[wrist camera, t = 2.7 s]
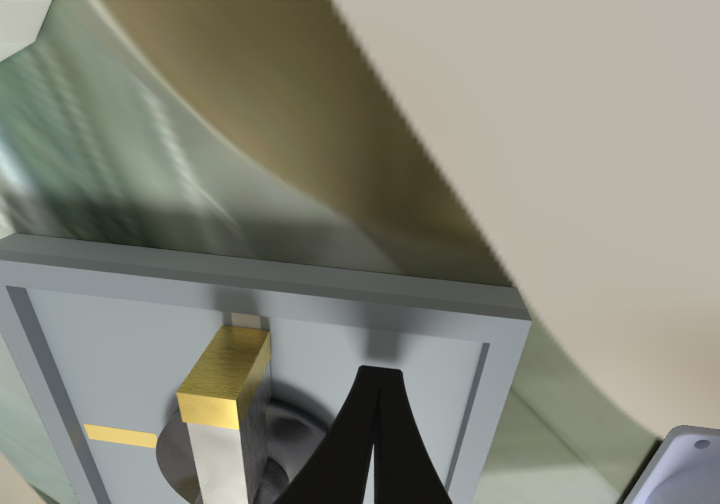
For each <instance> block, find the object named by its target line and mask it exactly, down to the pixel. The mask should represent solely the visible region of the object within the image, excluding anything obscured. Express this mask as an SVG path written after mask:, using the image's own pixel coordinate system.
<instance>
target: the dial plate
mask: <svg viewBox="0 0 720 504" xmlns="http://www.w3.org/2000/svg"><path fill="white" fill-rule="evenodd" d="M531 324H532V319H531V317H530V315H529V313H528V311H527V308H526V306H525V304H524V302H523V300H522V298H521V296H520V293H519V291H518V289H517V288H512V287H502V286H493V285H484V284H475V283H466V282H457V281H448V280H439V279H430V278H420V277H411V276H402V275H393V274H384V273H375V272H366V271H357V270H347V269H338V268H329V267H320V266H311V265H302V264H293V263H284V262H275V261H265V260H256V259H247V258H238V257H229V256H220V255H211V254H202V253H192V252H183V251H174V250H165V249H156V248H147V247H138V246H129V245H120V244H110V243H101V242H92V241H83V240H74V239H65V238H56V237H47V236H37V235H28V234H19V233H13V234H11V235H9V236H7V237H5V238H3V239H1V240H0V332H1V335H2V337H3V339H4V341H5V343H6V345H7V348H8V350H9V352H10V354H11V356H12V358H13V361H14V363H15V365H16V367H17V369H18V371H19V373H20V376H21V378H22V380H23V382H24V384H25V386H26V389H27V391H28V393H29V395H30V397H31V399H32V402H33V404H34V406H35V408H36V410H37V412H38V415H39V417H40V419H41V421H42V423H43V425H44V428H45V430H46V432H47V434H48V436H49V438H50V440H51V443H52V445H53V447H54V449H55V451H56V453H57V456H58V458H59V460H60V462H61V464H62V466H63V469H64V471H65V473H66V475H67V477H68V479H69V482H70V484H71V486H72V488H73V490H74V492H75V495H76V497H77V499H78V501H79V503H80V504H190V503H189V502H188V501H186V500H185V499H184V498H182V497H181V496H180V495H179V494H178V493H177V492H176V491H175V490H174V489H173V488H172V487H171V486H170V485H169V483H168V482H167V481H166V479H165V478H164V476H163V474H162V473H161V471H160V468H159V466H158V463H157V458H156V444H157V440H158V437H159V435H160V433H161V431H162V430H163V428H164V427H165V425H166V424H167V422H168V420H169V419H170V417H171V416H172V415H173V414H174V412H175V411H176V410H177V409H178V408H179V403H178V398H177V394H176V392H177V391H178V389H179V388H180V386H181V385H182V383H183V382H184V380H185V379H186V377H187V376H188V374H189V373H190V371H191V370H192V368H193V367H194V365H195V364H196V362H197V361H198V359H199V358H200V356H201V355H202V354H203V352H204V351H205V349H206V348H207V346H208V345H209V343H210V342H211V340H212V339H213V337H214V336H215V334H216V333H217V331H218V330H219V328H220V327H221V325H224V326H233V327H241V328H249V329H257V330H266V331H270V345H271V359H270V369H271V386H272V398H276V399H279V400H282V401H284V402H287V403H290V404H292V405H294V406H296V407H298V408H300V409H302V410H304V411H306V412H307V413H309V414H311V415H312V416H314V417H315V418H317V419H318V420H319V421H321V422H322V423H323V424H324V425H325V426H326V427H327V428H330V427H331V425H332V423H333V422H334V420H335V418H336V417H337V415H338V413H339V411H340V409H341V407H342V406H343V404H344V402H345V400H346V398H347V396H348V394H349V392H350V389H351V387H352V385H353V382H354V380H355V377H356V374H357V371H358V367H360V366H361V365H367V366H376V367H384V368H393V369H400V370H401V371H402V372H403V378H404V384H405V388H406V393H407V396H408V400H409V403H410V407H411V410H412V413H413V416H414V419H415V422H416V424H417V427H418V430H419V433H420V435H421V438H422V440H423V443H424V445H425V448H426V450H427V452H428V455H429V457H430V459H431V461H432V463H433V466H434V468H435V470H436V472H437V474H438V476H439V478H440V480H441V482H442V484H443V486H444V488H445V490H446V492H447V493H448V495H449V497H450V499H451V501H452V503H453V504H471V502H472V499H473V496H474V493H475V490H476V487H477V484H478V481H479V478H480V475H481V472H482V470H483V467H484V464H485V461H486V458H487V455H488V452H489V449H490V446H491V443H492V440H493V437H494V434H495V431H496V428H497V425H498V422H499V419H500V416H501V413H502V410H503V407H504V404H505V401H506V398H507V395H508V392H509V389H510V386H511V383H512V380H513V377H514V374H515V371H516V368H517V365H518V362H519V359H520V356H521V353H522V350H523V347H524V344H525V341H526V338H527V335H528V332H529V330H530V327H531ZM363 504H374V445H373V450H372V456H371V462H370V467H369V473H368V479H367V484H366V490H365V496H364V501H363Z"/></svg>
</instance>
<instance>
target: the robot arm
mask: <svg viewBox="0 0 720 504" xmlns="http://www.w3.org/2000/svg"><path fill="white" fill-rule="evenodd" d="M373 445H374V504H453V503H452V501H451V499H450V497H449V495H448V493H447V492H446V490H445V488H444V486H443V484H442V482H441V480H440V478H439V476H438V474H437V472H436V470H435V468H434V466H433V463H432V461H431V459H430V457H429V455H428V452H427V450H426V448H425V445H424V443H423V440H422V438H421V435H420V433H419V430H418V427H417V424H416V422H415V419H414V416H413V413H412V410H411V407H410V403H409V400H408V396H407V393H406V388H405V384H404V378H403V372H402V371H401V370H400V369H393V368H384V367H376V366H367V365H361V366H360V367H358V371H357V374H356V377H355V380H354V382H353V385H352V387H351V389H350V392H349V394H348V396H347V398H346V400H345V402H344V404H343V406H342V407H341V409H340V411H339V413H338V415H337V417H336V418H335V420H334V422H333V423H332V425H331V427H330V428H329V430H328V431H327V433H326V435H325V436H324V438H323V439H322V441H321V442H320V444H319V445H318V447H317V448H316V450H315V451H314V453H313V454H312V455H311V457H310V458H309V460H308V461H307V462H306V464H305V465H304V466H303V468H302V469H301V470H300V471H299V473H298V474H297V475H296V476H295V478H294V479H293V480H292V481H291V483H290V484H289V485H288V486H287V488H286V489H285V490H284V491H283V492H282V493H281V495H280V496H279V497H278V498H277V499H276V500H275V501H274V502H273V503H272V504H363V501H364V496H365V490H366V484H367V479H368V473H369V467H370V462H371V456H372V450H373ZM623 504H720V430H719V429H711V428H703V427H695V426H688V425H687V426H686V425H681V426H677V427H675V428H673V429H672V430H671V431H670V432H669V433H668V435H667V436H666V438H665V439H664V441H663V442H662V444H661V446H660V447H659V449H658V450H657V452H656V453H655V455H654V456H653V458H652V459H651V461H650V463H649V464H648V466H647V467H646V469H645V470H644V472H643V473H642V475H641V477H640V478H639V480H638V481H637V483H636V484H635V486H634V487H633V489H632V490H631V492H630V494H629V495H628V497H627V498H626V500H625V501H624V503H623Z"/></svg>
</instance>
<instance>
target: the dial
mask: <svg viewBox="0 0 720 504" xmlns="http://www.w3.org/2000/svg"><path fill="white" fill-rule="evenodd" d="M270 359H271V345H270V331H266V330H257V329H249V328H241V327H233V326H224V325H221V327H220V328H219V330H218V331H217V333H216V334H215V336H214V337H213V339H212V340H211V342H210V343H209V345H208V346H207V348H206V349H205V351H204V352H203V354H202V355H201V356H200V358H199V359H198V361H197V362H196V364H195V365H194V367H193V368H192V370H191V371H190V373H189V374H188V376H187V377H186V379H185V380H184V382H183V383H182V385H181V386H180V388H179V389H178V391H177V392H176V394H177V398H178V403H179V408H178V409H177V410H176V411H175V412H174V414H173V415H172V416H171V417H170V419H169V420H168V422H167V424H166V425H165V427H164V428H163V430H162V431H161V433H160V435H159V437H158V440H157V444H156V458H157V463H158V466H159V468H160V471H161V473H162V474H163V476H164V478H165V479H166V481H167V482H168V483H169V485H170V486H171V487H172V488H173V489H174V490H175V491H176V492H177V493H178V494H179V495H180V496H181V497H182V498H184V499H185V500H186V501H188V502H189V503H190V504H272V503H273V502H274V501H275V500H276V499H277V498H278V497H279V496H280V495H281V493H282V492H283V491H284V490H285V489H286V488H287V486H288V485H289V484H290V483H291V481H292V480H293V479H294V478H295V476H296V475H297V474H298V473H299V471H300V470H301V469H302V468H303V466H304V465H305V464H306V462H307V461H308V460H309V458H310V457H311V455H312V454H313V453H314V451H315V450H316V448H317V447H318V445H319V444H320V442H321V441H322V439H323V438H324V436H325V435H326V433H327V431H328V430H329V428H327V427H326V426H325V425H324V424H323V423H322V422H321V421H319V420H318V419H317V418H315V417H314V416H312V415H311V414H309V413H307V412H306V411H304V410H302V409H300V408H298V407H296V406H294V405H292V404H290V403H287V402H284V401H282V400H279V399H276V398H272V386H271V369H270Z"/></svg>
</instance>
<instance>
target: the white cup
mask: <svg viewBox="0 0 720 504" xmlns="http://www.w3.org/2000/svg"><path fill="white" fill-rule="evenodd" d="M51 2H52V0H0V62H1V61H3V60H4V59H6V58H8V57H10V56H11V55H13V54H15V53H16V52H18V51H20V50H22V49H23V48H25V47H27V46H29V45H30V44H32V43H34V42H35V40H36V38H37V36H38V33H39V31H40V29H41V26H42V24H43V22H44V19H45V17H46V14H47V12H48V9H49V7H50V5H51Z"/></svg>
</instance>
